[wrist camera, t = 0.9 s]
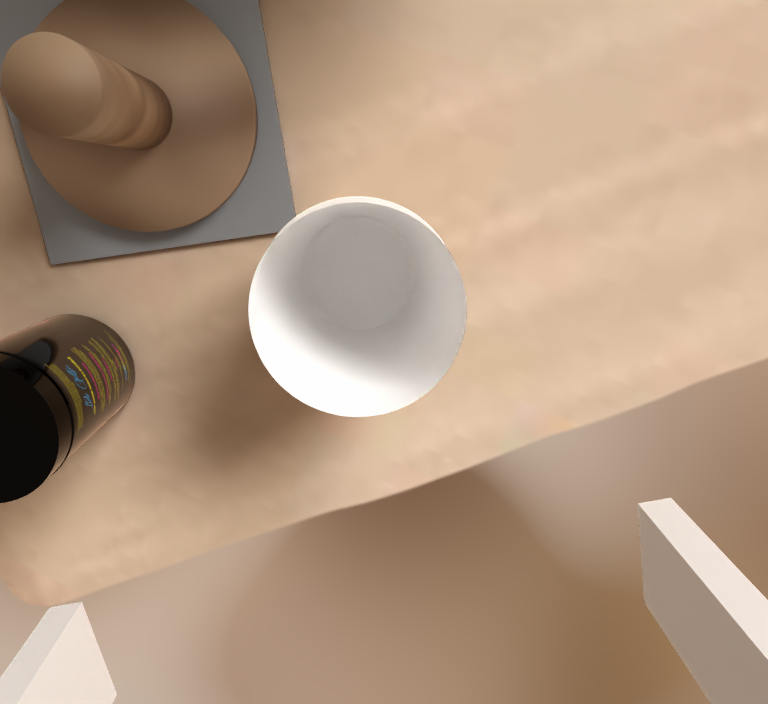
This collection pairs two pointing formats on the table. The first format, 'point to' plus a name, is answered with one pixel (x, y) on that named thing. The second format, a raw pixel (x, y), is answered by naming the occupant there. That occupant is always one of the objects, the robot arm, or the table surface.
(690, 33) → the table surface
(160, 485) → the table surface
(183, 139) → the lid
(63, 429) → the supplement container
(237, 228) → the mat
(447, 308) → the cup
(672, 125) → the table surface
